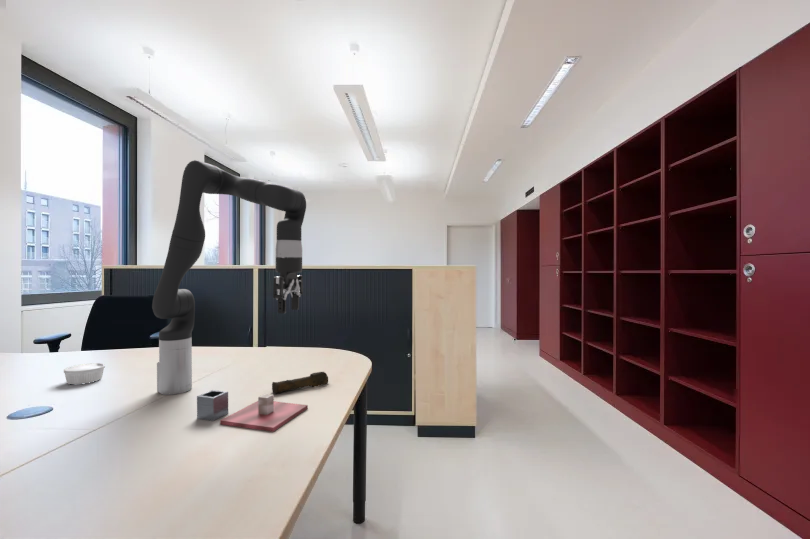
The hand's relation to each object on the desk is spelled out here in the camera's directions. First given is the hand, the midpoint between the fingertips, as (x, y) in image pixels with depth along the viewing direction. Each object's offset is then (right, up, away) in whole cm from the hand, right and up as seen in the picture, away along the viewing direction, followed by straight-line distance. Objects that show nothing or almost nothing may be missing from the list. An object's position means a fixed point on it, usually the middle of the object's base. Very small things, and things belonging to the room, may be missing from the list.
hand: (288, 311), depth 113 cm
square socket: (-18, -28, -8) cm, 34 cm away
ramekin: (-80, -28, +24) cm, 88 cm away
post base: (-4, -28, -8) cm, 29 cm away
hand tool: (-1, -28, +16) cm, 32 cm away
